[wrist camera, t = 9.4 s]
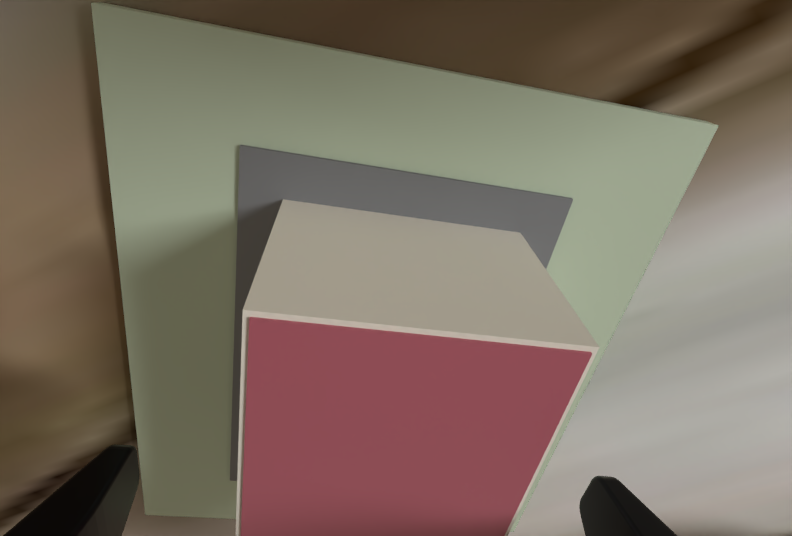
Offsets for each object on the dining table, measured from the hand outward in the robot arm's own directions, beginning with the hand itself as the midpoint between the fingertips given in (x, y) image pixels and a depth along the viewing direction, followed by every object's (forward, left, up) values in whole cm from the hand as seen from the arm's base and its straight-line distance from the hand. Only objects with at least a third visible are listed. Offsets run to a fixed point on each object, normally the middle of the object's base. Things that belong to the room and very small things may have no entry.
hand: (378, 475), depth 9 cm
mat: (0, 0, -4) cm, 4 cm away
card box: (0, 0, -3) cm, 3 cm away
